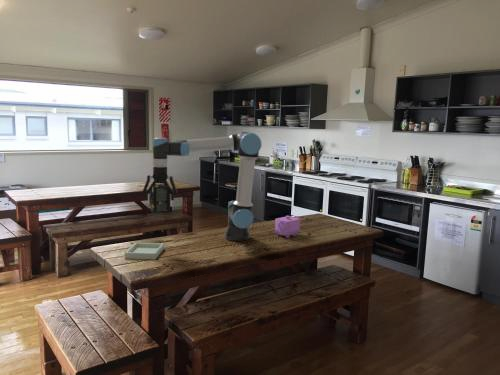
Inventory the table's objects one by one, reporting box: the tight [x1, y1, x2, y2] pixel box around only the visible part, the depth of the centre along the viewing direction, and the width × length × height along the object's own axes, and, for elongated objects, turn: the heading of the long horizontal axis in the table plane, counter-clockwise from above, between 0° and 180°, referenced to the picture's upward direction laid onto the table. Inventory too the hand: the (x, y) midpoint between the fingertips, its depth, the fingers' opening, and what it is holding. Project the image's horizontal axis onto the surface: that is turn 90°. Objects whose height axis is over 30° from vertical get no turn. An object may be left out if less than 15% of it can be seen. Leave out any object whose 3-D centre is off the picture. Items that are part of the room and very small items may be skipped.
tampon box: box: [150, 183, 171, 214], centre depth 235 cm, size 11×9×15 cm
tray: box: [124, 242, 165, 260], centre depth 228 cm, size 16×18×3 cm
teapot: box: [274, 215, 301, 239], centre depth 268 cm, size 20×10×12 cm, turn 131°
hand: (160, 205), depth 235 cm, fingers closed on tampon box, 11 cm apart
